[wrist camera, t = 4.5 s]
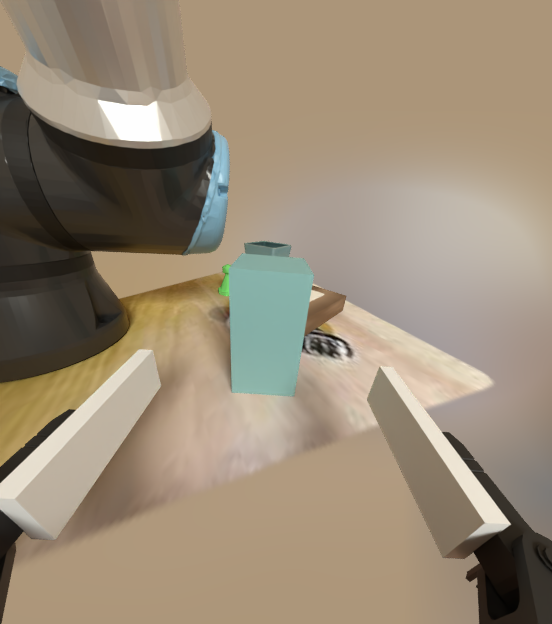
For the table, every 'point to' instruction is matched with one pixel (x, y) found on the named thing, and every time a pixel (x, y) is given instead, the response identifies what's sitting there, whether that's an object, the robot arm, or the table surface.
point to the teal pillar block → (267, 322)
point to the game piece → (225, 282)
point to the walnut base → (322, 307)
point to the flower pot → (267, 248)
